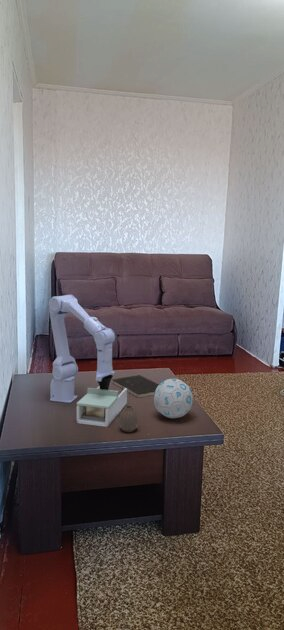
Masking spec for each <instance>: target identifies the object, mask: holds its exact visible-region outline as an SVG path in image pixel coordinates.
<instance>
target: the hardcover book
mask: <svg viewBox="0 0 284 630" xmlns="http://www.w3.org/2000/svg"><path fill="white" fill-rule="evenodd" d="M111 381H112V384H114V385H115V384H116V386H117V385H118V388H120V389H122V388H123V390H124V389H125V388H127V393H129V392H130V394H131V395H133V396H135V397H137V398H142V397H143V398H144V397H149V396H154V394H155V390H156V388H157V387H158V385H159V384H160V383H156V382H155V381H153V380H151V379H149V378H147V377H144V376H143V375H142V374H139V375H131V376H125V377H118V378H113V379H111Z"/></svg>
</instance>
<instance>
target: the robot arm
mask: <svg viewBox="0 0 284 630" xmlns="http://www.w3.org/2000/svg"><path fill="white" fill-rule="evenodd" d="M48 308H49V318H50V325H51V330H52V335H53V342H54V347H55V354H56V358H55V359H54V361H53V362H52V371H51V373H52V376H53V378H52V379H51V381H50V384H49V385H50V386H49V387H50V395H49V396H50V398H49V401H50V402H51V401H52V402H59V403H66V404H71V403H72V402H74V401H75V400H76V399H77V398H78V395H75V378H76V376H77V375H78V373H79V367H78V364H77V363H76V359H75V357H74V356H72V355H71V353H70V346H69V342H68V341H69V340H68V335H67V329H66V323H65V317H66V316H67V314H68V313H72V315H74V316H75V317H76V318H77V319H78V320H79V321H81V322H82V323H83V328H84V329H85V330H86V331H87V332H88V333H89V334H90V335H92V337H93V339H94V343H95V345H96V346H95V347H96V349H97V354H96V355H97V356H96V357H97V359H96V360H97V362H96V363H97V365H96V376H95V381H96V382H97V384H98V386H100V389H105V390H110V389H109V388H110V384H111V381H112V378H113V375H115V374H116V372H115V370H114V369H113V343H114V342H115V340H116V333H115V331H114V330H113V329H112V328H109V327H106V326H105V325H103V324H102V322H100V321H99V318H97V317H95V316H90V315H89V314H88V313H87V311H86V310H85V309H84V308H83V307H82V306H81V305H80V304H79V303H78V298H76V297H75V296H74V295H73V294H67V295H59V296H56V295H55V296H52V297H51V298H50V300H49V301H48ZM113 370H114V371H113Z"/></svg>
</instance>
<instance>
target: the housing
mask: <svg viewBox="0 0 284 630" xmlns="http://www.w3.org/2000/svg"><path fill="white" fill-rule="evenodd" d="M96 389H100V386H99V385H98V386H97V387H96ZM127 404H128V391H127V388H125V389H123V390H122V391H121V392H120V393H118V399H117V400H116V401H115V402H114V403H113V405H112V406H111V407H110V408H109V409H106V411H105V418H102V417H94V416H86V406H81V405H76V424H79V425H80V424H81V425H89V426H97V427H103V428H104V427H105V428H109V426H110V425H111V423H112V422H113V421H114V420H115V418H116V417H117V416H118V415H119V414H120V412H122V411H123V410H124V409H123V408H125V407H126V406H127Z"/></svg>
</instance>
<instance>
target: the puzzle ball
mask: <svg viewBox="0 0 284 630" xmlns="http://www.w3.org/2000/svg"><path fill="white" fill-rule="evenodd" d="M158 384H159V385H158V387H157V388H156V390H155V394H154V395H153V402H154V403H153V404H154V407H155V408H156V410H157V411H158V413H160V414H161V415H163V416H164V417H166V418H168V419H180V418H182V417H184V416H185V415H186V414H188V412H189V411H190V410H191V409H192V406H193V401H194V396H193V392H192V389H191V388H190V386H189V385H188V384H187V383H186V382H185V381H183V380H182V379H178V378H168V379H166V380H163V381H162V382H160V383H158Z"/></svg>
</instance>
